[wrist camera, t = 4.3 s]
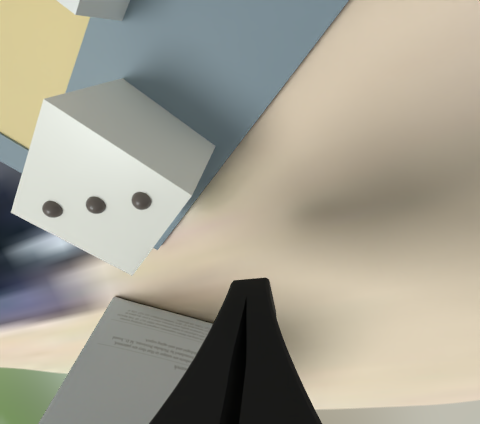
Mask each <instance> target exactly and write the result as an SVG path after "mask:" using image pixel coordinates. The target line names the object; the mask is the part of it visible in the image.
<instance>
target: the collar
mask: <svg viewBox="0 0 480 424" xmlns="http://www.w3.org/2000/svg"><path fill="white" fill-rule="evenodd" d="M57 1H58V2H59V3H60V4H62V5H63V6H64V7H66V8H67V9H68V10H70V11H71V12H72V13H74V14H75V15H80V16H88V17H95V18H103V19H110V20H118V21H122V20H123V17H124V15H125V12H126V9H127V7H128V4H129V2H130V0H57Z"/></svg>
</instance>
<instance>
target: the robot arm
mask: <svg viewBox="0 0 480 424" xmlns="http://www.w3.org/2000/svg"><path fill="white" fill-rule="evenodd" d="M149 424H322V423H321V421H320V419H319V417H318V415H317V413H316V411H315V409H314V407H313V405H312V403H311V401H310V399H309V397H308V395H307V393H306V391H305V389H304V387H303V384H302V382H301V380H300V378H299V376H298V374H297V371H296V369H295V367H294V364H293V362H292V360H291V357H290V355H289V352H288V350H287V347H286V345H285V342H284V340H283V337H282V334H281V331H280V328H279V325H278V322H277V319H276V310H275V305H274V301H273V296H272V291H271V287H270V282H269V279H267V278H257V279H246V280H235V281H233V282H232V283H231V286H230V289H229V291H228V293H227V296H226V298H225V300H224V303H223V305H222V307H221V309H220V311H219V313H218V315H217V317H216V319H215V321H214V323H213V325H212V327H211V329H210V331H209V333H208V335H207V337H206V338H205V340H204V342H203V344H202V345H201V347H200V349H199V351H198V352H197V354H196V356H195V358H194V359H193V361H192V362H191V364H190V366H189V367H188V369H187V370H186V372H185V374H184V375H183V377H182V378H181V380H180V381H179V383H178V384H177V386H176V387H175V389H174V390H173V391H172V393H171V394H170V396H169V397H168V398H167V400H166V401H165V403H164V404H163V405H162V407H161V408H160V409H159V411H158V412H157V414H156V415H155V416H154V417H153V419H152V420H151V421H150V423H149Z"/></svg>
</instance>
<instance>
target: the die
mask: <svg viewBox="0 0 480 424" xmlns="http://www.w3.org/2000/svg"><path fill="white" fill-rule="evenodd" d="M215 147H216V146H215V145H213V144H212V143H211V142H209V141H208V140H206V139H205V138H204V137H202V136H201V135H200V134H198V133H197V132H195V131H194V130H193V129H191V128H190V127H189V126H187V125H186V124H185V123H183V122H182V121H180V120H179V119H178V118H176V117H175V116H174V115H172V114H171V113H169V112H168V111H167V110H165V109H164V108H163V107H161V106H160V105H158V104H157V103H156V102H154V101H153V100H152V99H150V98H149V97H147V96H146V95H145V94H143V93H142V92H141V91H139V90H138V89H137V88H135V87H134V86H132V85H131V84H130V83H128V82H127V81H126V80H124V79H123V78H121V79H118V80H114V81H110V82H106V83H102V84H98V85H95V86H91V87H87V88H83V89H79V90H76V91H72V92H68V93H64V94H60V95H57V96H53V97H49V98H45V99H43V103H42V106H41V110H40V113H39V117H38V120H37V123H36V127H35V130H34V134H33V137H32V141H31V144H30V148H29V151H28V155H27V158H26V162H25V165H24V169H23V172H22V176H21V179H20V183H19V186H18V190H17V193H16V197H15V200H14V204H13V207H12V211H11V213H13V214H15V215H17V216H19V217H20V218H22V219H24V220H26V221H28V222H30V223H32V224H34V225H36V226H38V227H40V228H42V229H43V230H45V231H47V232H49V233H51V234H53V235H55V236H57V237H59V238H61V239H63V240H65V241H67V242H68V243H70V244H72V245H74V246H76V247H78V248H80V249H82V250H84V251H86V252H88V253H90V254H91V255H93V256H95V257H97V258H99V259H101V260H103V261H105V262H107V263H109V264H111V265H113V266H114V267H116V268H118V269H120V270H122V271H124V272H126V273H128V274H130V275H133V274H134V273H135V271H136V270H137V269H138V267H139V266H140V265H141V263H142V262H143V261H144V259H145V258H146V257H147V255H148V254H149V253H150V251H151V250H152V249H153V247H154V246H155V245H156V243H157V242H158V240H159V239H160V238H161V236H162V235H163V234H164V232H165V231H166V230H167V228H168V227H169V226H170V224H171V223H172V222H173V220H174V219H175V218H176V216H177V215H178V214H179V212H180V211H181V210H182V208H183V207H184V206H185V204H186V203H187V202H188V200H189V199H190V198H191V196H192V195H193V193H194V190H195V188H196V186H197V184H198V182H199V180H200V178H201V176H202V174H203V172H204V170H205V167H206V165H207V163H208V161H209V159H210V157H211V155H212V153H213V151H214V149H215Z"/></svg>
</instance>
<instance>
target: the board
mask: <svg viewBox="0 0 480 424" xmlns="http://www.w3.org/2000/svg"><path fill="white" fill-rule="evenodd" d="M348 1H349V0H130V2H129V4H128V7H127V9H126V12H125V15H124V17H123V20H122V21H118V20H110V19H103V18H95V17H88V16H80V15H75V14H74V13H72V12H71V11H70V10H68V9H67V8H66V7H64V6H63V5H62V4H60V3H59V2H58V1H57V0H0V161H1V162H3V163H4V164H6V165H8V166H10V167H11V168H13V169H15V170H17V171H18V172H20V173H22V172H23V169H24V165H25V162H26V158H27V155H28V151H29V148H30V144H31V141H32V137H33V134H34V130H35V127H36V123H37V120H38V117H39V113H40V110H41V106H42V103H43V99H45V98H49V97H53V96H57V95H60V94H64V93H68V92H72V91H76V90H79V89H83V88H87V87H91V86H95V85H98V84H102V83H106V82H110V81H114V80H118V79H121V78H123V79H124V80H126V81H127V82H128V83H130V84H131V85H132V86H134V87H135V88H137V89H138V90H139V91H141V92H142V93H143V94H145V95H146V96H147V97H149V98H150V99H152V100H153V101H154V102H156V103H157V104H158V105H160V106H161V107H163V108H164V109H165V110H167V111H168V112H169V113H171V114H172V115H174V116H175V117H176V118H178V119H179V120H180V121H182V122H183V123H185V124H186V125H187V126H189V127H190V128H191V129H193V130H194V131H195V132H197V133H198V134H200V135H201V136H202V137H204V138H205V139H206V140H208V141H209V142H211V143H212V144H213V145H215V146H216V147H215V149H214V151H213V153H212V155H211V157H210V159H209V161H208V163H207V165H206V167H205V170H204V172H203V174H202V176H201V178H200V180H199V182H198V184H197V186H196V188H195V190H194V193H193V195H192V196H191V198H190V199H189V200H188V202H187V203H186V204H185V206H184V207H183V208H182V210H181V211H180V212H179V214H178V215H177V216H176V218H175V219H174V220H173V222H172V223H171V224H170V226H169V227H168V228H167V230H166V231H165V232H164V234H163V235H162V236H161V238H160V239H159V240H158V242H157V243H156V245H155V246H154V247H153V248H155V249H157V250H158V249H159V247H160V246H161V245H162V244H163V242H164V241H165V240H166V238H167V237H168V236H169V234H170V233H171V232H172V230H173V229H174V228H175V227H176V225H177V224H178V223H179V221H180V220H181V219H182V217H183V216H184V215H185V213H186V212H187V211H188V210H189V208H190V207H191V206H192V204H193V203H194V202H195V200H196V199H197V198H198V197H199V195H200V194H201V193H202V191H203V190H204V189H205V187H206V186H207V185H208V183H209V182H210V181H211V180H212V178H213V177H214V176H215V174H216V173H217V172H218V170H219V169H220V168H221V167H222V165H223V164H224V163H225V161H226V160H227V159H228V157H229V156H230V155H231V153H232V152H233V151H234V150H235V148H236V147H237V146H238V144H239V143H240V142H241V140H242V139H243V138H244V136H245V135H246V134H247V133H248V131H249V130H250V129H251V127H252V126H253V125H254V123H255V122H256V121H257V120H258V118H259V117H260V116H261V114H262V113H263V112H264V110H265V109H266V108H267V106H268V105H269V104H270V103H271V101H272V100H273V99H274V97H275V96H276V95H277V93H278V92H279V91H280V90H281V88H282V87H283V86H284V84H285V83H286V82H287V80H288V79H289V78H290V76H291V75H292V74H293V73H294V71H295V70H296V69H297V67H298V66H299V65H300V63H301V62H302V61H303V59H304V58H305V57H306V56H307V54H308V53H309V52H310V50H311V49H312V48H313V46H314V45H315V44H316V43H317V41H318V40H319V39H320V37H321V36H322V35H323V33H324V32H325V31H326V29H327V28H328V27H329V26H330V24H331V23H332V22H333V20H334V19H335V18H336V16H337V15H338V14H339V13H340V11H341V10H342V9H343V7H344V6H345V5H346V3H347V2H348Z"/></svg>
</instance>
